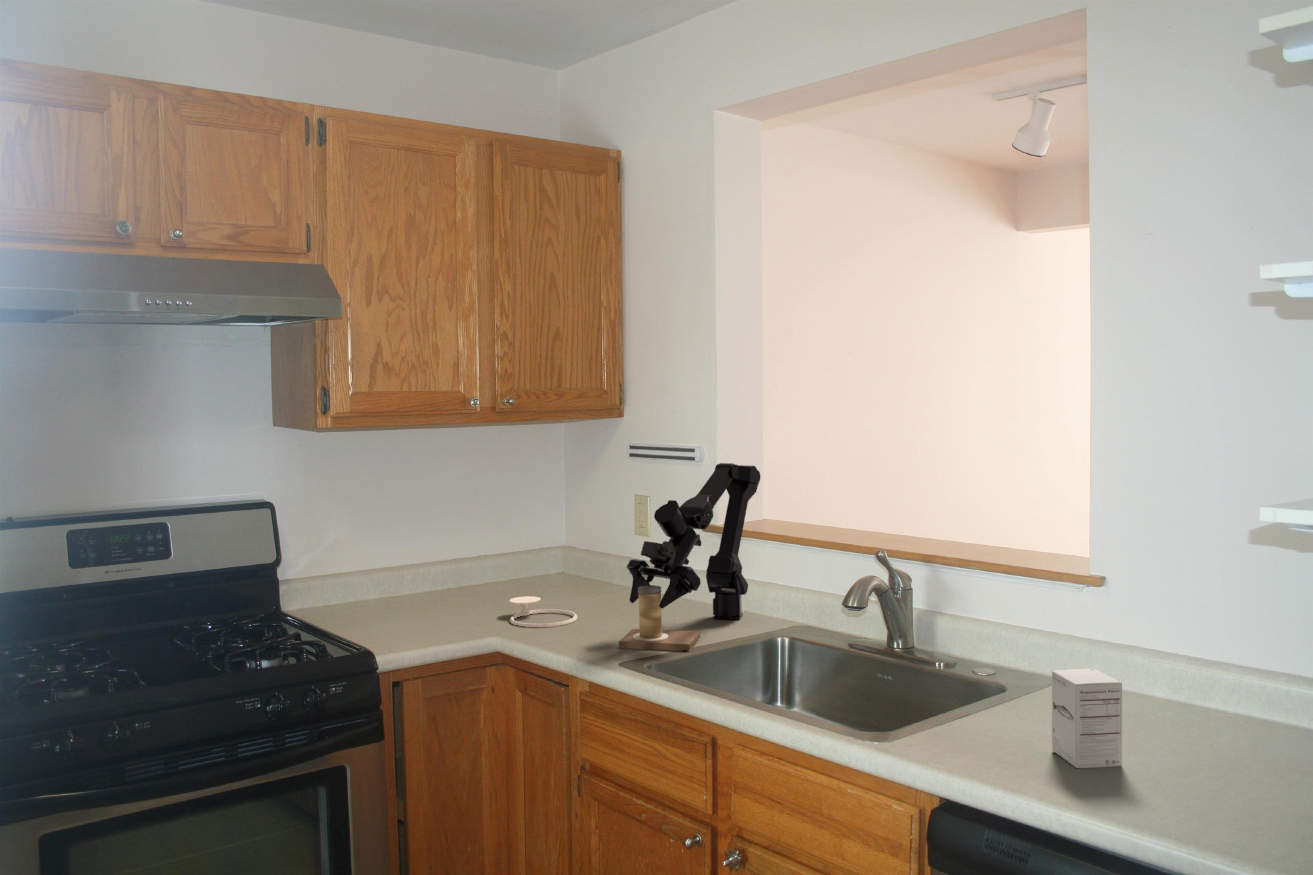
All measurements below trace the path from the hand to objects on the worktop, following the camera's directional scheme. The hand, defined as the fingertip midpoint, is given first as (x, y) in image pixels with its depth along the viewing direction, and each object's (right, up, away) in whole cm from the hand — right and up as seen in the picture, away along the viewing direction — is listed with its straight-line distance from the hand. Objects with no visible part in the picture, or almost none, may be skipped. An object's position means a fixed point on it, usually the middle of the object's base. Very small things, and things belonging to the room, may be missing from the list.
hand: (645, 604), depth 219 cm
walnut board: (+3, -9, +2) cm, 10 cm away
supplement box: (+67, -11, -73) cm, 99 cm away
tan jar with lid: (+1, -7, +1) cm, 7 cm away
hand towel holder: (-27, -9, +29) cm, 41 cm away
